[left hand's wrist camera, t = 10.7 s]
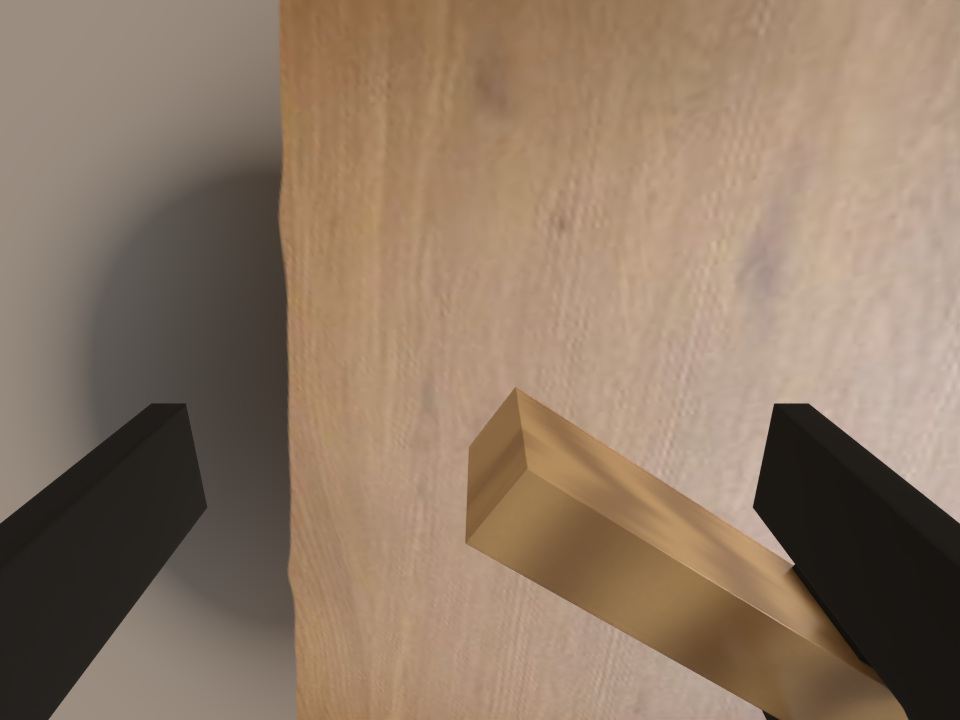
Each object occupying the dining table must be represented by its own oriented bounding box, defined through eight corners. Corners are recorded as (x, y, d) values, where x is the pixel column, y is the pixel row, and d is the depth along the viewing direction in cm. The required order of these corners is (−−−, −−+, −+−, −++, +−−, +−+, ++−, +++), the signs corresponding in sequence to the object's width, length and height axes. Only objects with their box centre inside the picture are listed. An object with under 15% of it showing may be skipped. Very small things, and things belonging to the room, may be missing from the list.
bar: (468, 446, 32) (464, 543, 24) (515, 386, 30) (527, 468, 23) (790, 641, 37) (872, 772, 29) (842, 597, 35) (943, 721, 28)
